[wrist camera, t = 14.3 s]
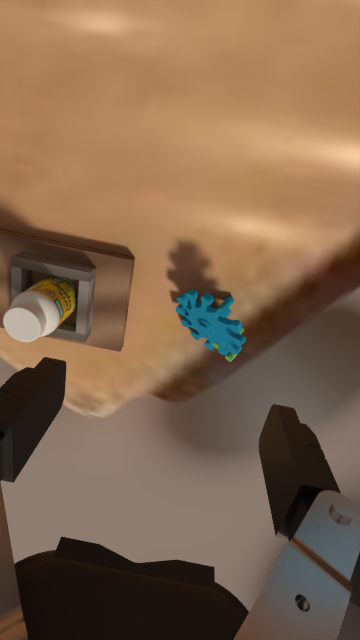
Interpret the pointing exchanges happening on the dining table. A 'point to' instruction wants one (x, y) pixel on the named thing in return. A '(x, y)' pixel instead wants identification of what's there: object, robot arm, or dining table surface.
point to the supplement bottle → (40, 309)
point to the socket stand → (83, 272)
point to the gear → (211, 323)
